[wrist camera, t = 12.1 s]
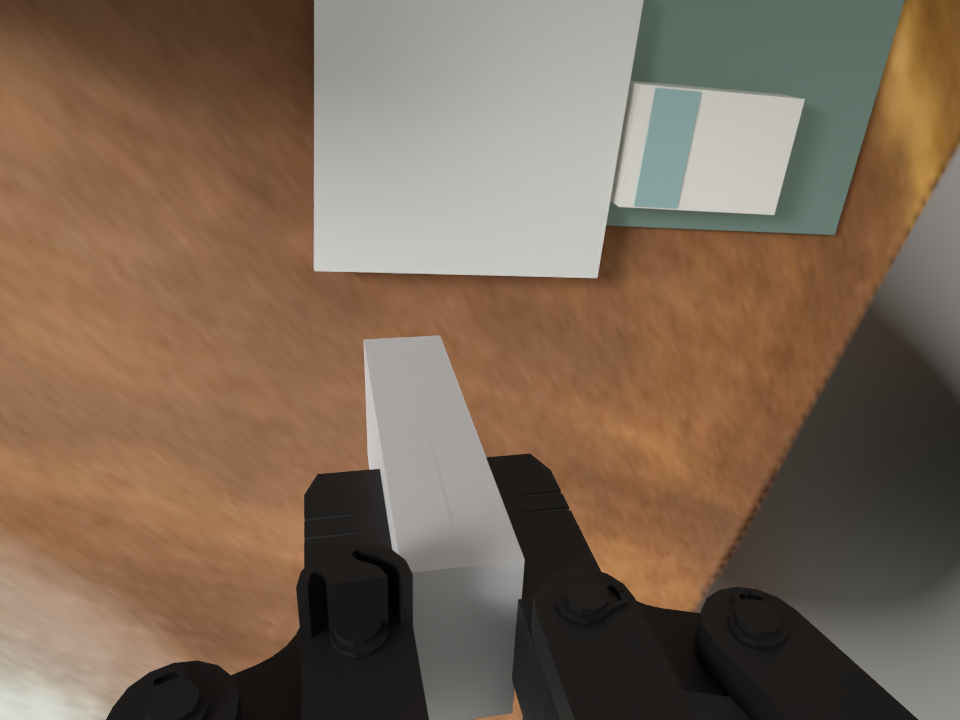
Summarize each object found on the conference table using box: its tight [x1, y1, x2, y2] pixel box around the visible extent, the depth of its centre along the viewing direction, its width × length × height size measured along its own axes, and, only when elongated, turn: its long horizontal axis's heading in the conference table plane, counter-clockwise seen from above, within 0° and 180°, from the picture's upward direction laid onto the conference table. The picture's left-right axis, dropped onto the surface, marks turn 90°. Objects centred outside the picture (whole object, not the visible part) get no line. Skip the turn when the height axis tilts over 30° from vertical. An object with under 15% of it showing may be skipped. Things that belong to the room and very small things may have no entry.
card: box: [610, 80, 805, 215], centre depth 40 cm, size 6×9×2 cm, turn 85°
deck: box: [314, 0, 644, 278], centre depth 37 cm, size 14×15×2 cm
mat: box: [606, 0, 905, 235], centre depth 40 cm, size 14×15×1 cm
